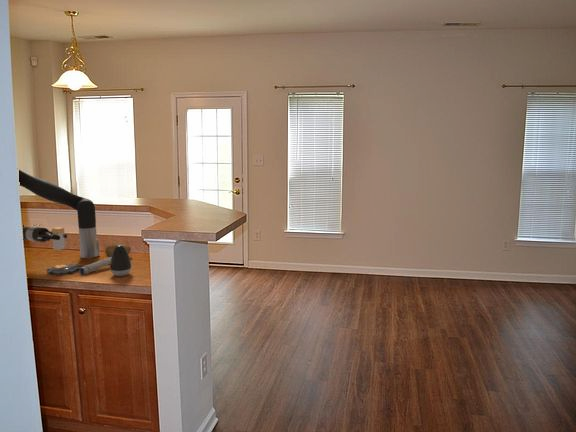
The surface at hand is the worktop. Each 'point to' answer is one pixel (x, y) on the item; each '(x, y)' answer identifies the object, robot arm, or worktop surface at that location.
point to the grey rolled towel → (94, 266)
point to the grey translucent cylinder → (60, 243)
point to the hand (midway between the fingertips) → (62, 236)
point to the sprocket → (63, 269)
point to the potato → (112, 246)
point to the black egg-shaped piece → (120, 261)
